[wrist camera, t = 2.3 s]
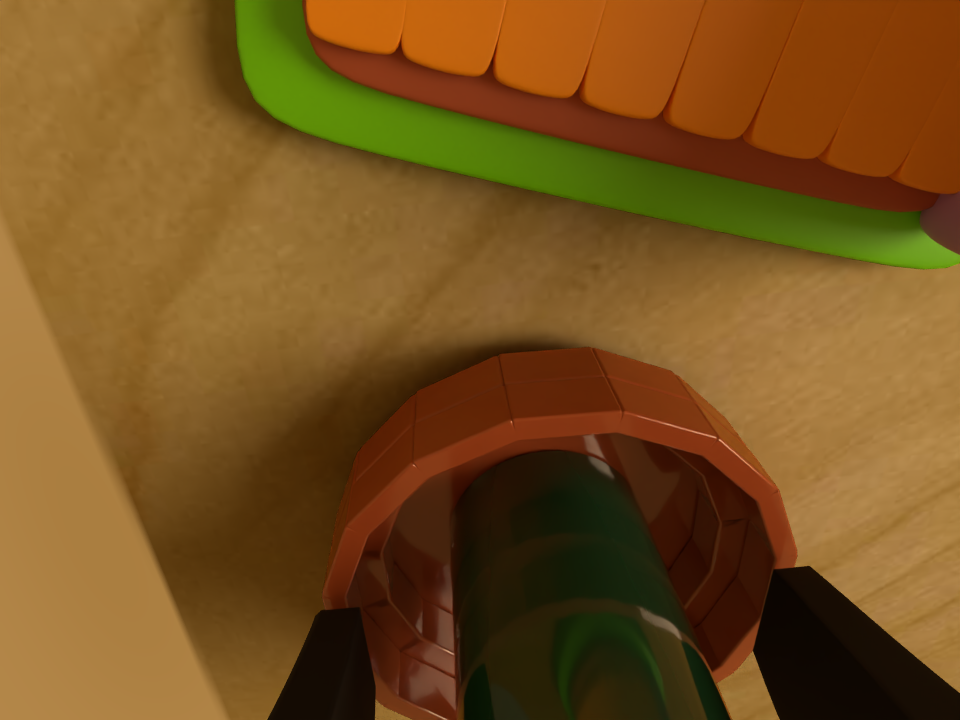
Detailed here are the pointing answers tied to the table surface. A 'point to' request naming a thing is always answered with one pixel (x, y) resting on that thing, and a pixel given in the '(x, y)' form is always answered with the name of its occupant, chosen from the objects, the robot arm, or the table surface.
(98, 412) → the table surface
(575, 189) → the miniature room corner
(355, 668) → the robot arm
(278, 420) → the table surface
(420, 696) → the dish
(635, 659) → the bottle
